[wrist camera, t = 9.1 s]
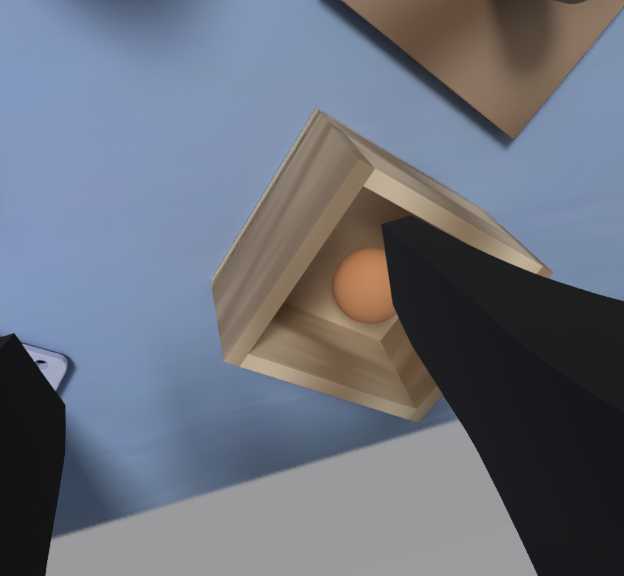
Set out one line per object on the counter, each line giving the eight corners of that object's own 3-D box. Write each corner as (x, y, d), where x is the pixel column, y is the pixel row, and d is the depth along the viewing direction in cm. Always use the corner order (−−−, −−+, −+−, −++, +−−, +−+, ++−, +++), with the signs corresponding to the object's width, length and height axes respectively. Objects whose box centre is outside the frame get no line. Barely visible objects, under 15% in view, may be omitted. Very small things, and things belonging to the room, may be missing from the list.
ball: (310, 281, 23) (329, 324, 21) (351, 222, 22) (375, 261, 20) (366, 304, 24) (389, 348, 22) (406, 251, 23) (436, 290, 21)
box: (210, 280, 23) (224, 361, 19) (316, 107, 20) (358, 159, 16) (378, 345, 27) (418, 423, 23) (485, 211, 24) (553, 272, 20)
